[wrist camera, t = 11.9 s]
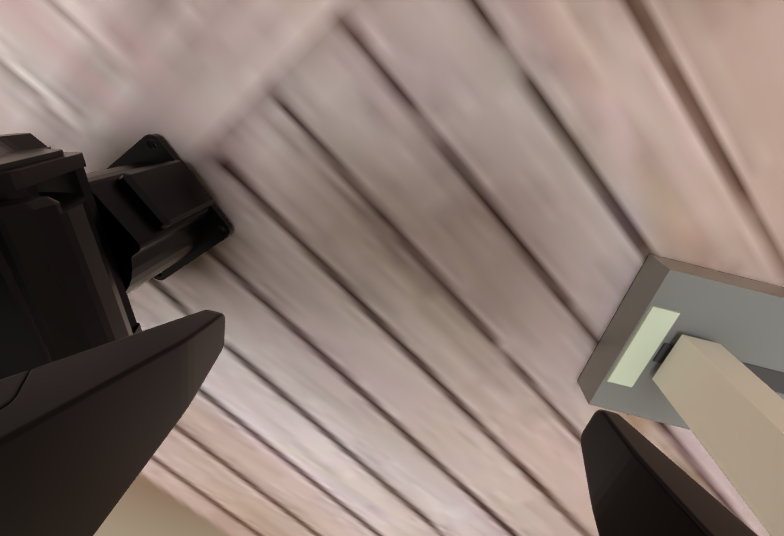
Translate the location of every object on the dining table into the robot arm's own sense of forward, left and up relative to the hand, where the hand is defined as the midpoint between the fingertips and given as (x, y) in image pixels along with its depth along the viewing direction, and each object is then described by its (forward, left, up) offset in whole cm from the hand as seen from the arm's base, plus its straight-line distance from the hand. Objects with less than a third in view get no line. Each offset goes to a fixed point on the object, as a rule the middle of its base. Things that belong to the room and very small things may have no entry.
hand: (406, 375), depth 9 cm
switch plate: (+10, -15, -13) cm, 23 cm away
